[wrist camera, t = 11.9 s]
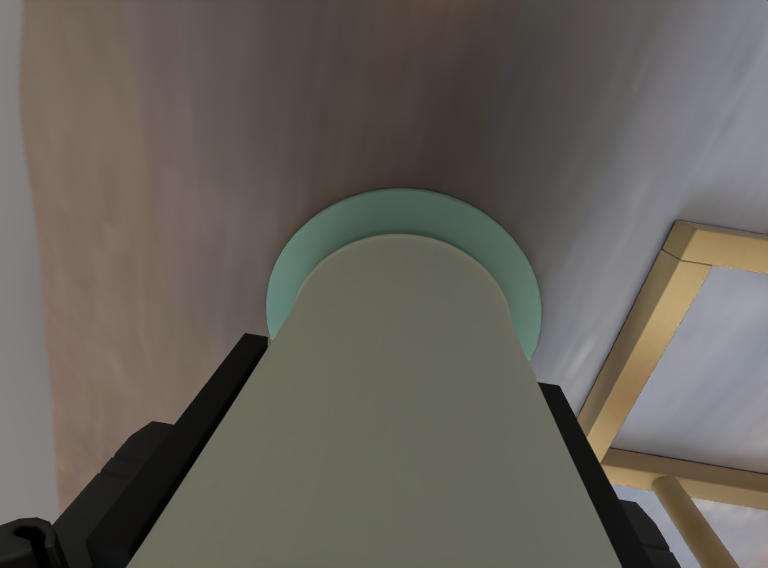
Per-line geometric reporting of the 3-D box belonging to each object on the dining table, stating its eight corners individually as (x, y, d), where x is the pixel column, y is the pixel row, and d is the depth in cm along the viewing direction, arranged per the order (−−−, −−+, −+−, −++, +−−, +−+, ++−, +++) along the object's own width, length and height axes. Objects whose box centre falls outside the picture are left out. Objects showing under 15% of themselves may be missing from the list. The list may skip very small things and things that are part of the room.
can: (249, 323, 16) (-96, 761, 5) (412, 180, 13) (394, 522, 2) (390, 447, 19) (352, 920, 8) (555, 351, 15) (882, 914, 5)
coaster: (271, 164, 14) (266, 166, 14) (581, 215, 14) (587, 218, 14) (267, 401, 19) (264, 408, 19) (495, 440, 19) (497, 447, 19)
